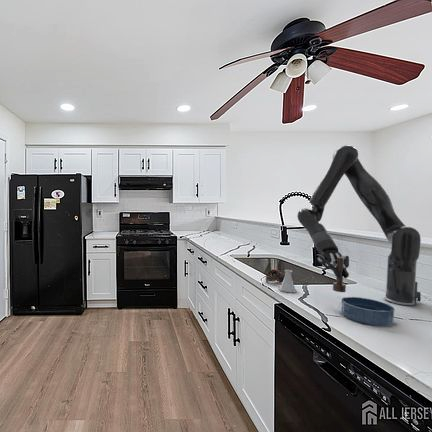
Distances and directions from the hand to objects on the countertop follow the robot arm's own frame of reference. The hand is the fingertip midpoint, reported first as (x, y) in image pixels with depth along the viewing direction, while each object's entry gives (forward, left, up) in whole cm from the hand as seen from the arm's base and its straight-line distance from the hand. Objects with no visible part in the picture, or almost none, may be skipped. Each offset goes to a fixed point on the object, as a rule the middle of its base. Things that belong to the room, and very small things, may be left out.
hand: (343, 277), depth 115 cm
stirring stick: (0, -2, -6) cm, 7 cm away
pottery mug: (+10, -35, -13) cm, 38 cm away
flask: (+11, -21, -13) cm, 27 cm away
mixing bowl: (0, +12, -12) cm, 17 cm away
